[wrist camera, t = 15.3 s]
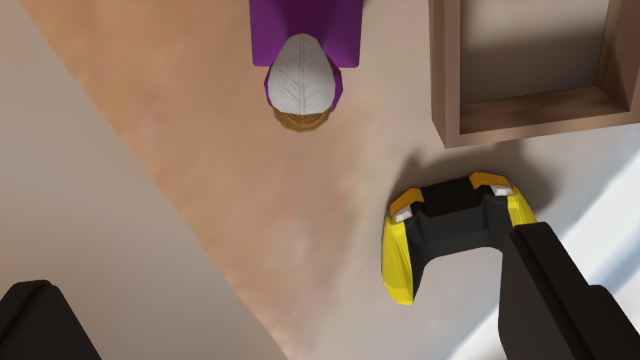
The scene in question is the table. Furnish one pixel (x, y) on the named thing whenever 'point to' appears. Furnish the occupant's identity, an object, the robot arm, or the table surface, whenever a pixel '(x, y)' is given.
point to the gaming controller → (446, 226)
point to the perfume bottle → (305, 55)
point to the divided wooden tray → (538, 109)
